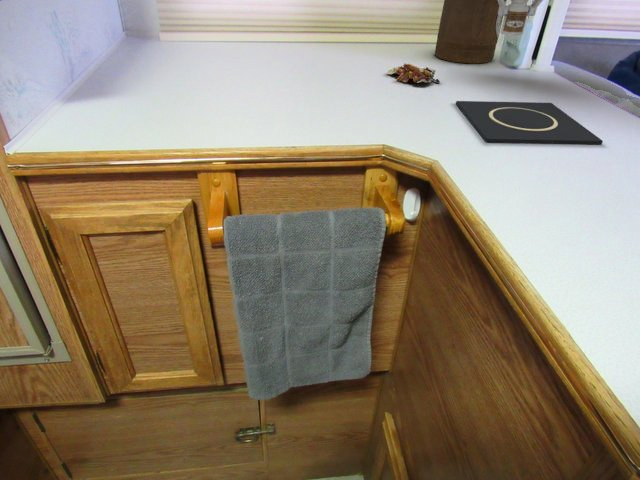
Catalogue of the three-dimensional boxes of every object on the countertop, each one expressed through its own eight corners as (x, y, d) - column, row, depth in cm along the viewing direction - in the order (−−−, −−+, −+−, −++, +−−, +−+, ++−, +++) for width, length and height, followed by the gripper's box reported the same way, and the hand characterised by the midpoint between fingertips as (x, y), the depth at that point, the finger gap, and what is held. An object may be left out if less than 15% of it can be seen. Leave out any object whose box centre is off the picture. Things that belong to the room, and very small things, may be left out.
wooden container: (504, 62, 106) (532, -43, 93) (450, 65, 103) (471, -43, 90) (474, 49, 118) (494, -46, 105) (425, 51, 115) (440, -47, 102)
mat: (550, 105, 80) (551, 101, 80) (601, 144, 65) (603, 139, 65) (455, 104, 80) (456, 99, 79) (486, 142, 65) (487, 137, 65)
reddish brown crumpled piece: (398, 70, 98) (400, 54, 96) (441, 82, 91) (444, 65, 89) (377, 76, 94) (379, 58, 92) (421, 88, 87) (424, 70, 85)
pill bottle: (502, 35, 89) (512, -7, 85) (498, 32, 93) (508, -9, 88) (524, 36, 89) (535, -6, 84) (519, 33, 92) (530, -8, 88)
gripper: (581, -66, 83) (558, 13, 91) (478, -67, 83) (463, 12, 91) (598, -66, 78) (572, 18, 86) (488, -67, 78) (472, 17, 86)
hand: (515, 15), depth 89 cm, fingers closed on pill bottle, 4 cm apart
